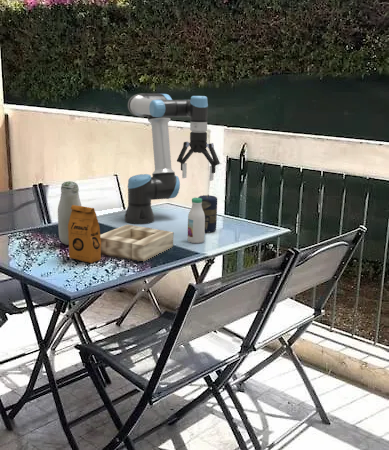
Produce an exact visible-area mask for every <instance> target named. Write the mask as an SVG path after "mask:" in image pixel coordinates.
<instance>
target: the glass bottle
mask: <svg viewBox="0 0 389 450" xmlns="http://www.w3.org/2000/svg"><path fill="white" fill-rule="evenodd" d="M79 192H80V191H79V185H78V183H77V182H75V181H64V182H62V184H61V186H60V197H59V198H60V200H59V202H58V207H57V224H58V225H57V226H58V237H59V238H58V239H59V240H60V242H61V243H62V244H63V245H67V246H69V239H68V223H69V219H70V215H71V212H72V209H71V206H72V205H76V206H82V202H81V199H80V194H79Z"/></svg>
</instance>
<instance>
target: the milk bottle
mask: <svg viewBox="0 0 389 450" xmlns="http://www.w3.org/2000/svg"><path fill="white" fill-rule="evenodd" d="M201 204H202V198H198V197H192V198H191V208H190V210H189V213H188V215H187V242H188V243H190V242H191V244H202V243H204V242H205V235H206V234H205V233H206V232H205V215H204V211H203V209H202V205H201Z"/></svg>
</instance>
